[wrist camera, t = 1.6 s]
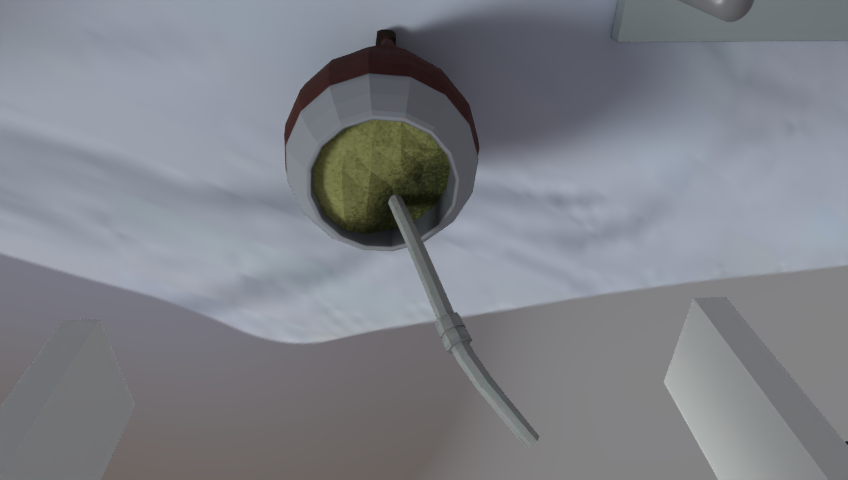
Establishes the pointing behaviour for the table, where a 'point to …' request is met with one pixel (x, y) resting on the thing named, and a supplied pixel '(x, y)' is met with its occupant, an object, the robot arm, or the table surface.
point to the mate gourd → (391, 173)
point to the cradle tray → (730, 20)
